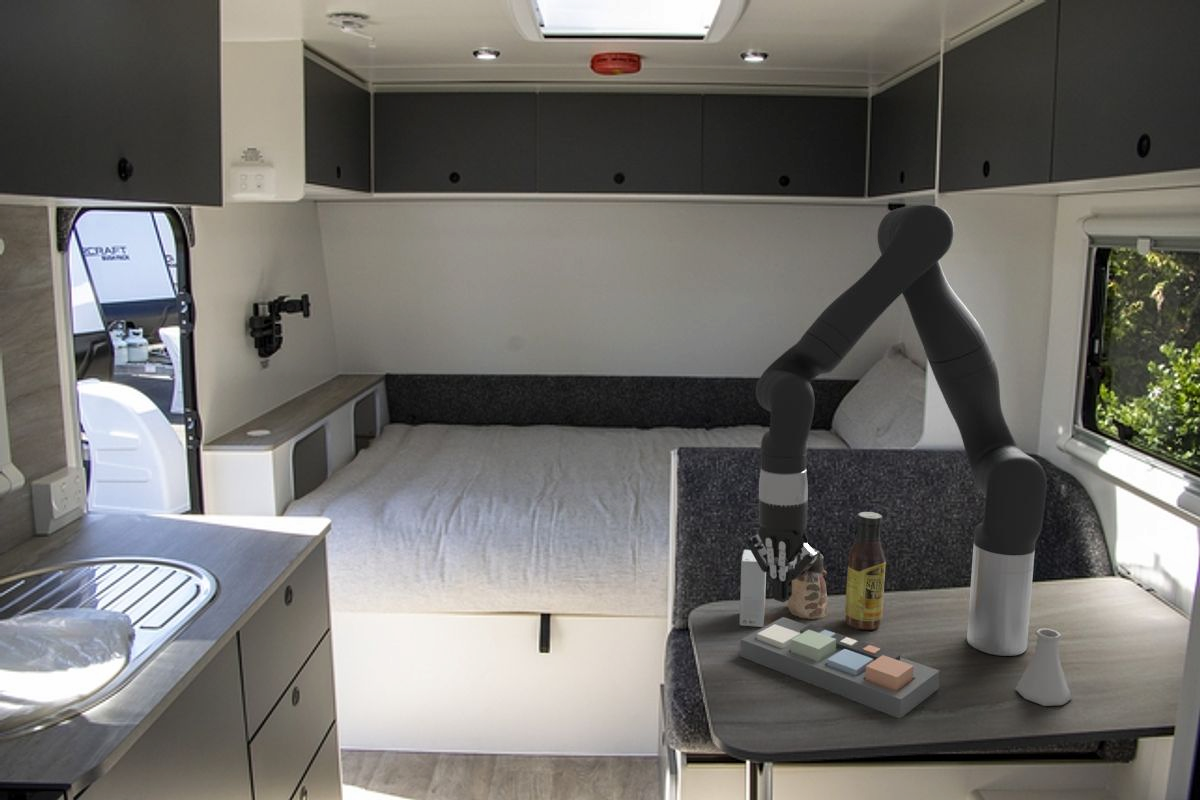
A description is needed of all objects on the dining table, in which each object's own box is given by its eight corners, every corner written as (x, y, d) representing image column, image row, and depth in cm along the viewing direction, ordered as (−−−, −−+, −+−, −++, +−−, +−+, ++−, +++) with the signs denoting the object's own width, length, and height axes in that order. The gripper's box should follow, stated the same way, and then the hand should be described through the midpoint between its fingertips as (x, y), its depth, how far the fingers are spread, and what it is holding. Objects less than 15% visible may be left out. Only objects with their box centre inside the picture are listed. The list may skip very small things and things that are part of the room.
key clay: (881, 670, 146) (882, 655, 145) (912, 681, 142) (913, 665, 142) (865, 681, 142) (865, 666, 142) (896, 693, 139) (897, 677, 138)
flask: (1005, 689, 145) (1010, 627, 143) (1041, 680, 148) (1046, 619, 146) (1044, 711, 138) (1050, 647, 136) (1081, 701, 141) (1087, 638, 139)
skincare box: (764, 628, 167) (765, 562, 164) (739, 626, 167) (740, 561, 165) (765, 613, 172) (767, 550, 170) (741, 612, 173) (742, 549, 171)
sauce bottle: (868, 635, 163) (873, 523, 160) (837, 623, 168) (842, 515, 164) (889, 624, 168) (895, 515, 164) (858, 613, 172) (863, 507, 168)
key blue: (843, 663, 150) (844, 648, 150) (872, 673, 147) (873, 658, 146) (826, 674, 147) (827, 659, 146) (855, 685, 144) (856, 669, 143)
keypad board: (782, 633, 164) (783, 611, 164) (938, 688, 145) (940, 664, 144) (740, 656, 156) (740, 633, 155) (899, 718, 137) (901, 692, 136)
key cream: (774, 638, 159) (774, 624, 159) (800, 647, 156) (800, 633, 155) (756, 647, 156) (757, 633, 155) (782, 657, 152) (783, 643, 152)
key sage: (808, 643, 155) (808, 629, 154) (835, 653, 151) (836, 638, 151) (790, 654, 151) (791, 639, 151) (818, 664, 148) (818, 649, 147)
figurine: (836, 613, 172) (839, 550, 170) (807, 622, 169) (809, 558, 166) (808, 600, 178) (810, 538, 176) (779, 608, 175) (781, 546, 172)
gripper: (832, 498, 149) (830, 603, 152) (762, 483, 158) (761, 582, 161) (806, 510, 144) (804, 618, 147) (734, 493, 153) (734, 596, 156)
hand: (781, 599), depth 154 cm, fingers closed
